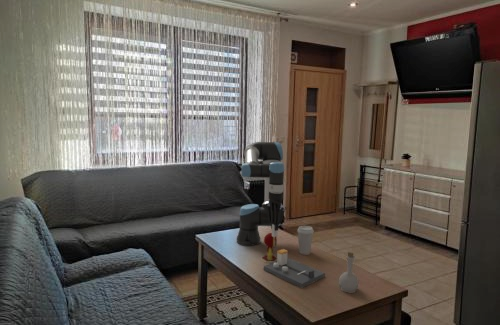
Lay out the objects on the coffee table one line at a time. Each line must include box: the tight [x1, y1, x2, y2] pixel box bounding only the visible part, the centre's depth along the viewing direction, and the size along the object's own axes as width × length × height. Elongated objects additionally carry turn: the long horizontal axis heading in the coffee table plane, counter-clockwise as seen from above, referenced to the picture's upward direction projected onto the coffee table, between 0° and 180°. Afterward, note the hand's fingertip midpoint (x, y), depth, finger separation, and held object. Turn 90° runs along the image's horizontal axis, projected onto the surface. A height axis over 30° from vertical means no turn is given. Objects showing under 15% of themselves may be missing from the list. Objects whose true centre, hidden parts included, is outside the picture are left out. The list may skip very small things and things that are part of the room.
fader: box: [276, 248, 289, 266], centre depth 180 cm, size 3×5×7 cm
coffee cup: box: [296, 225, 315, 256], centre depth 202 cm, size 10×10×15 cm
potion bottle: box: [338, 251, 360, 294], centre depth 159 cm, size 9×9×18 cm
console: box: [263, 257, 326, 289], centre depth 175 cm, size 25×18×5 cm
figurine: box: [260, 232, 278, 264], centre depth 191 cm, size 9×10×15 cm
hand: (274, 235), depth 183 cm, fingers closed
